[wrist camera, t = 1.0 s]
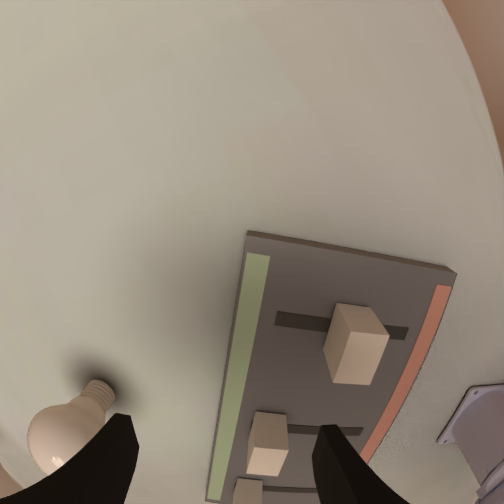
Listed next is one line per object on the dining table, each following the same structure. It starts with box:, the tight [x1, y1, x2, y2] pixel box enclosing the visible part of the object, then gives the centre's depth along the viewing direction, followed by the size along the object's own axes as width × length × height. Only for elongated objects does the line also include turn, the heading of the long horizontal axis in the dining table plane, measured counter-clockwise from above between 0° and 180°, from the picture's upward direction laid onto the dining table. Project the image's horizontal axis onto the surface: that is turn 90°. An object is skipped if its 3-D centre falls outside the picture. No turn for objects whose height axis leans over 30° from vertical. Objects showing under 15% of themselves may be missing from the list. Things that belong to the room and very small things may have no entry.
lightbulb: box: [27, 380, 115, 476], centre depth 19 cm, size 6×6×11 cm
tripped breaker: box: [323, 303, 390, 385], centre depth 18 cm, size 2×4×4 cm
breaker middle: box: [246, 411, 289, 476], centre depth 21 cm, size 2×4×4 cm
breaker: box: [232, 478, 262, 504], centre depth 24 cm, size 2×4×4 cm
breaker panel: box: [205, 231, 457, 504], centre depth 24 cm, size 15×30×2 cm, turn 171°
